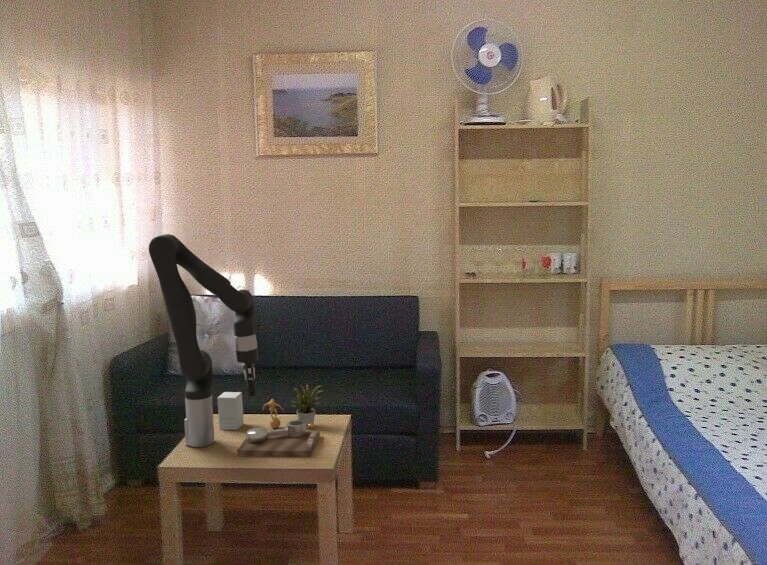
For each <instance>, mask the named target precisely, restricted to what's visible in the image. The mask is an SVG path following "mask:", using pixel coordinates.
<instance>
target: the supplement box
mask: <svg viewBox="0 0 767 565" xmlns="http://www.w3.org/2000/svg"><path fill="white" fill-rule="evenodd" d="M216 399H217V400H216V401H217V412H218V415H217V416H218V424H219V425H218V426H219V428H218V429H219V430H223V431H224V430H225V431H227V430H229V431H231V430H232V431H238V430H239V429H240V428H241V427H242V426H243V425H244V424H245V422H244V421H245V420H244V408H243V404H244V403H243V392H242V391H235V392H234V391H224V392H222V393H221V394H220V395H219V396H218V397H217V398H216Z"/></svg>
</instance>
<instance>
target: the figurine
mask: <svg viewBox="0 0 767 565" xmlns="http://www.w3.org/2000/svg"><path fill="white" fill-rule="evenodd" d="M274 400H275V399H274V398H271V400H270V401H268V402H267V403H264V404H263V407H262V411H264V410H265V406H269V409H268V410H269V411H270V417H271V419H270V421H269V426H270V427H271V429H277V428H278V429H279V427H280V426H281V420H280V419H279V418H278V417H277V416H278V415H277V414H278V410H277V408H275V407H276V406H277V407H279V408H280V409H281V410H282V411H283V412H285V410H284V408H283V407H282V406H281V405H280V404H278V403H277V402H275V401H274ZM273 412H274V414H273ZM273 415H274V416H273Z"/></svg>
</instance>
